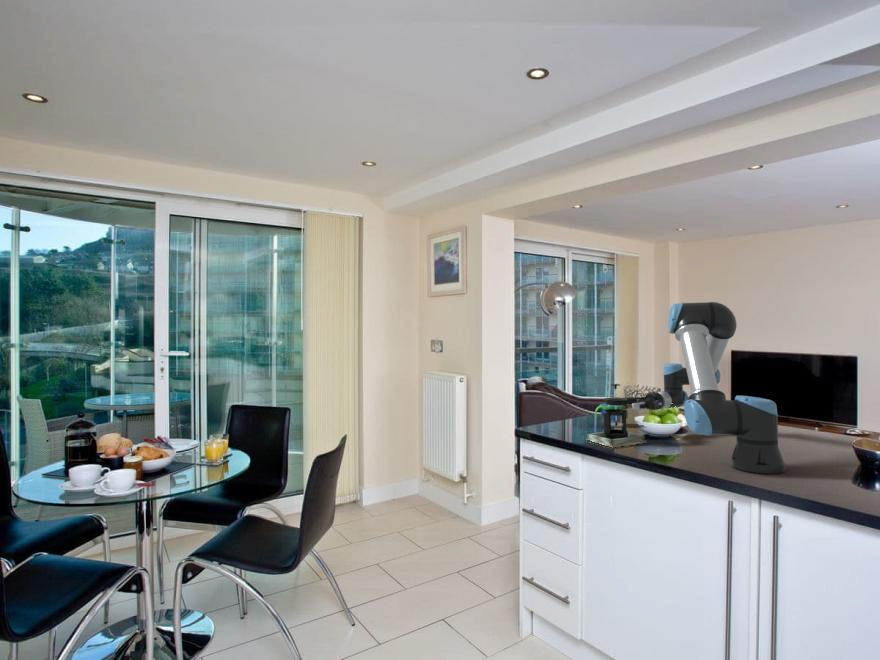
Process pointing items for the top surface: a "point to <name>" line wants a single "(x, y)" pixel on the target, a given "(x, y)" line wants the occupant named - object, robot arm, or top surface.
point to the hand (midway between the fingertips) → (620, 404)
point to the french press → (616, 412)
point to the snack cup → (613, 418)
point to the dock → (627, 441)
